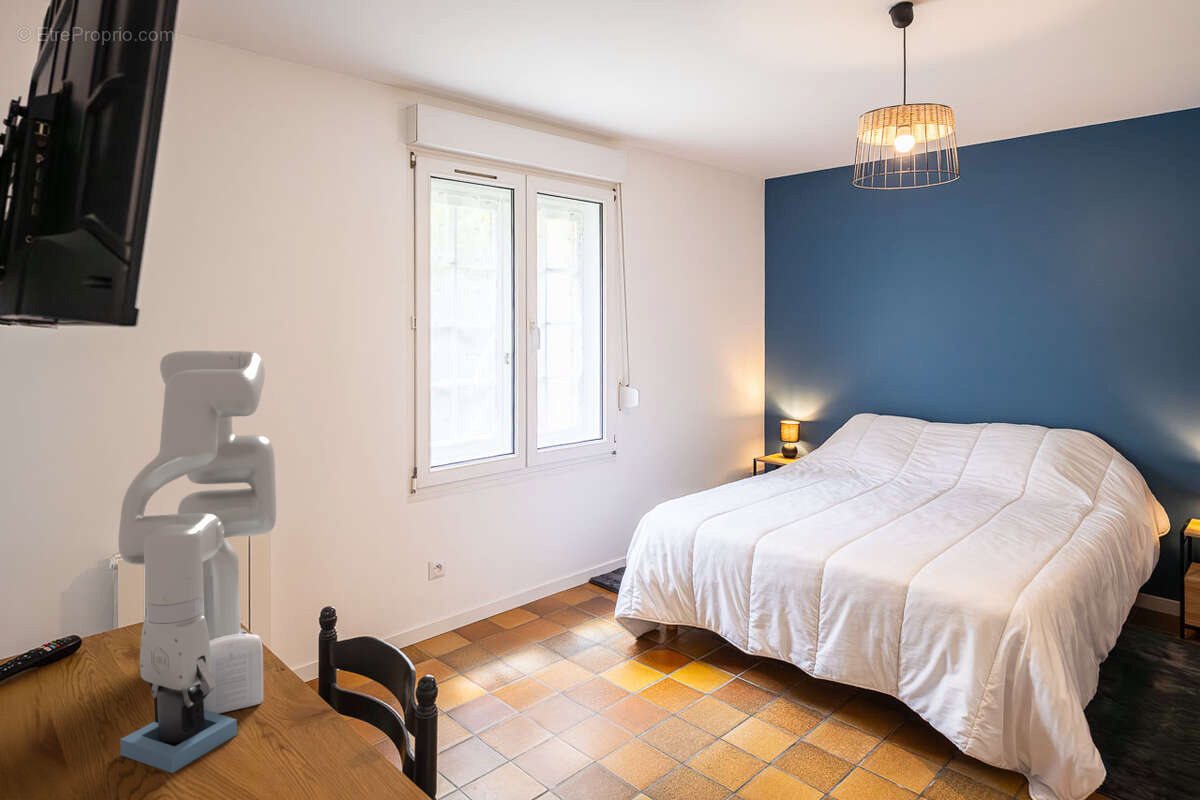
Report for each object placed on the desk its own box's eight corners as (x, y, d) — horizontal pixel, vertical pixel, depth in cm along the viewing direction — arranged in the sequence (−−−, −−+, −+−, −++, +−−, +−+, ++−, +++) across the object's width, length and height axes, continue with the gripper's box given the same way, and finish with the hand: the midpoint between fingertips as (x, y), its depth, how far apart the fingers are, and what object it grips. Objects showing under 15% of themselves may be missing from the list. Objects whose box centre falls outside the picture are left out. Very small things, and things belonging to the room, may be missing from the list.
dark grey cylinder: (150, 738, 109) (148, 693, 108) (183, 720, 114) (181, 677, 113) (175, 746, 107) (174, 701, 106) (208, 728, 112) (207, 684, 111)
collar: (120, 755, 108) (120, 739, 107) (187, 719, 118) (187, 704, 117) (172, 773, 103) (171, 756, 103) (237, 734, 114) (236, 719, 113)
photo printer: (261, 693, 126) (260, 625, 125) (265, 704, 123) (264, 634, 122) (194, 709, 121) (192, 638, 120) (197, 721, 117) (194, 648, 116)
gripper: (112, 607, 108) (117, 722, 110) (193, 626, 102) (197, 749, 104) (159, 591, 115) (164, 700, 117) (238, 608, 109) (241, 723, 110)
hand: (179, 721), depth 110 cm, fingers closed on dark grey cylinder, 5 cm apart
